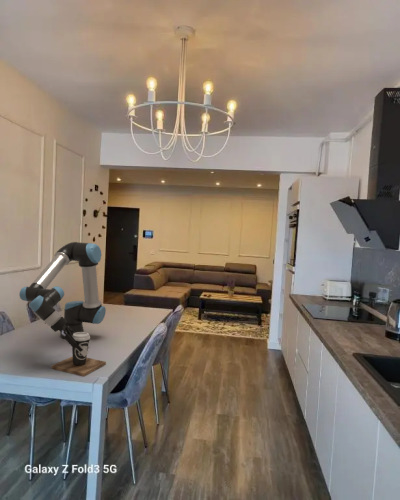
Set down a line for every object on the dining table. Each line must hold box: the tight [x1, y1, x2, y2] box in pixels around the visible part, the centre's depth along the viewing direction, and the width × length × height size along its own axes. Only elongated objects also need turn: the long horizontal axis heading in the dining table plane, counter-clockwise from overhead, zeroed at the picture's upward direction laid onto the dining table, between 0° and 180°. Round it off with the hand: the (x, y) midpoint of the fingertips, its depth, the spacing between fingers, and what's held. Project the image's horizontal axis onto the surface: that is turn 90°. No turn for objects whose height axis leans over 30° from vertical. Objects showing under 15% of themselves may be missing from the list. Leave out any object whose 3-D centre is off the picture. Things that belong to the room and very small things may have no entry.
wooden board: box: [51, 355, 107, 377], centre depth 183 cm, size 20×18×2 cm
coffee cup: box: [71, 331, 91, 365], centre depth 183 cm, size 10×10×15 cm
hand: (86, 351), depth 184 cm, fingers closed on coffee cup, 8 cm apart
